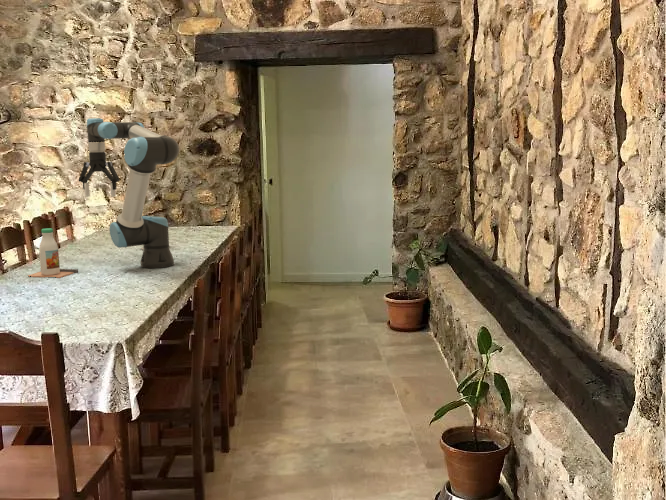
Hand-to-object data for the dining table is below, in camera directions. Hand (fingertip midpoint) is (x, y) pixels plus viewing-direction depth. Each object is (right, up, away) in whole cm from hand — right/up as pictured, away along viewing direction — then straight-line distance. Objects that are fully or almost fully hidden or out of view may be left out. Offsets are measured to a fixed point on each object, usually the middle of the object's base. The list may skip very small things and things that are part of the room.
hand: (100, 196), depth 326 cm
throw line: (-12, -35, -19) cm, 42 cm away
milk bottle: (-13, -36, -25) cm, 46 cm away
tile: (-13, -37, -25) cm, 46 cm away
